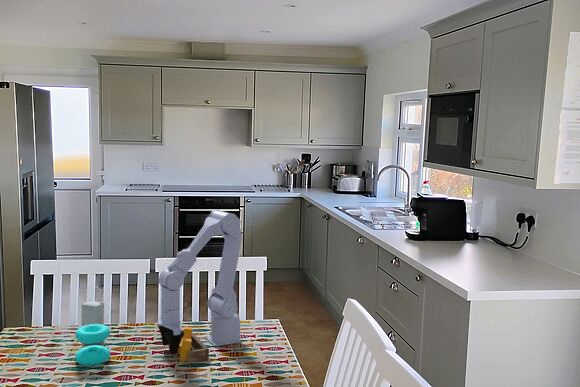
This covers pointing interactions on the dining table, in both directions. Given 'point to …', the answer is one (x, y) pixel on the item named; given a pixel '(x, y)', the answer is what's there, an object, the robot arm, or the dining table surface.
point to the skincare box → (92, 313)
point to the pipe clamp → (185, 344)
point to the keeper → (197, 351)
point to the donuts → (94, 352)
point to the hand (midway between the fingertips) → (170, 349)
